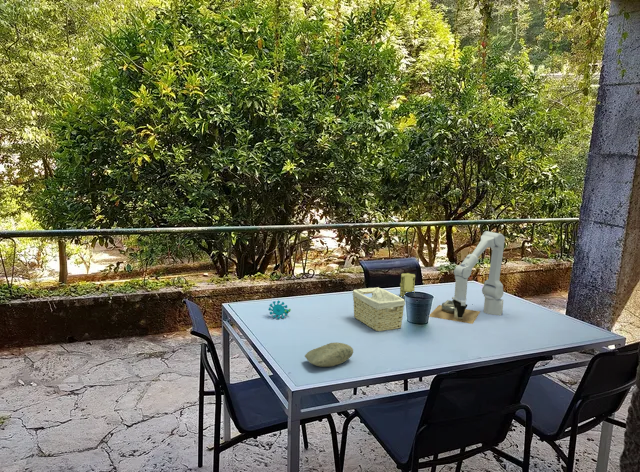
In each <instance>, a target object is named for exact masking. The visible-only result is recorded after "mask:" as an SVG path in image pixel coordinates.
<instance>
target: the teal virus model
mask: <svg viewBox="0 0 640 472" xmlns="http://www.w3.org/2000/svg"><path fill="white" fill-rule="evenodd" d="M268 311H269V315H272V318H274V319H277V320H280V319H285V317H287V316H288V315H289V312H291V311H292V309H291V308H289V309H288V305H287V304H285V302H284V301H282V302H281V301H280V300H277V303H276V300H275V301H272V303H270V304H269V307H268Z"/></svg>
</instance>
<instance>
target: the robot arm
mask: <svg viewBox="0 0 640 472" xmlns="http://www.w3.org/2000/svg"><path fill="white" fill-rule="evenodd" d="M505 239H506V236H504V234H502V233H501V232H492V231H488V230H485V231H484V232H483V233H482V235H481V236H480V241H479V243H478V244H477V246H476V247H475V248H474V250H473V251H472V253H469V254H467V255H466V257H464V259H463V260H462V262H461V263H460V264H458V265H457V266H455V268H454V270H453V274H454V279H455V286H454V296H452V297H451V299H452V300H451V301H453V303H454V307H455V308H457V315H458V317H461V318H462V317H463V314H464V311H465V309H467V307H468V304H466V303H467V302H466V301H467V293H468V292H467V291H468V281H469V278H470V276H471V275H472V271H473V268H475V266H476V264H477V263H478V262H479V257H480V256H481V255H482V254H483V253H484V252H485V251H486V250H487V249H488V248H490V249H491V251H492V252H491V258H490V264H489V273H488V279H486V280H484V283H483V285H482V288H481V293H482V295H483V297H484V302H483V313H484V314H486V315H492V316H499V317H500V316H502V315H503V312H504V311H503V309H504V299H502V297H503V296H504V285H503V283H502V281H500V278H501V277H500V276H501V269H502V263H503V256H504V250H505V242H506V241H505Z"/></svg>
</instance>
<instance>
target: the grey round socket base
mask: <svg viewBox="0 0 640 472" xmlns="http://www.w3.org/2000/svg"><path fill="white" fill-rule="evenodd" d="M441 305H442V309H441V310H442V311H443V312H446V313H450V314H454V313H455V310H454V308H455V307H454V303H453V301H452V300H449V299H447V300H446V301H445V302H442V303H441ZM464 313H465V311H464Z"/></svg>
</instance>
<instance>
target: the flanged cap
mask: <svg viewBox="0 0 640 472" xmlns="http://www.w3.org/2000/svg"><path fill="white" fill-rule="evenodd" d="M454 310H455V313H454V318H457V319H463V317H462V318H461V317H458V315H457V308H454Z"/></svg>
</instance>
